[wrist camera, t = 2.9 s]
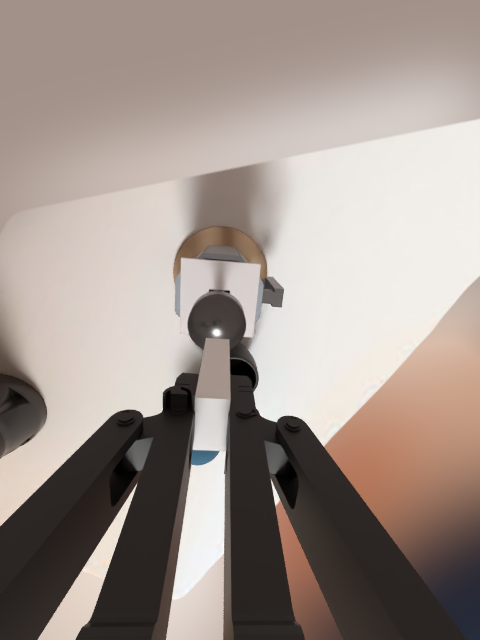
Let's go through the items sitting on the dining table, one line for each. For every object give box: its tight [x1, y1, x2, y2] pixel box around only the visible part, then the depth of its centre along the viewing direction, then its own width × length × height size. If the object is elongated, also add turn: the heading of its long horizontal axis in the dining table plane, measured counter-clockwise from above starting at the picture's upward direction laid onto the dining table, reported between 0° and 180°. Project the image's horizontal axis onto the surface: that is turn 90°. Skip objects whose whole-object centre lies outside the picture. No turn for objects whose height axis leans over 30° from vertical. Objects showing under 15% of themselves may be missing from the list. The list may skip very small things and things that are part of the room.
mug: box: [230, 343, 259, 392], centre depth 49 cm, size 8×12×10 cm
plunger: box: [187, 289, 246, 349], centre depth 30 cm, size 8×8×12 cm
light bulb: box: [191, 449, 219, 465], centre depth 51 cm, size 8×8×12 cm
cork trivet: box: [173, 227, 267, 282], centre depth 48 cm, size 16×16×1 cm
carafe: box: [175, 245, 284, 338], centre depth 40 cm, size 13×10×17 cm
